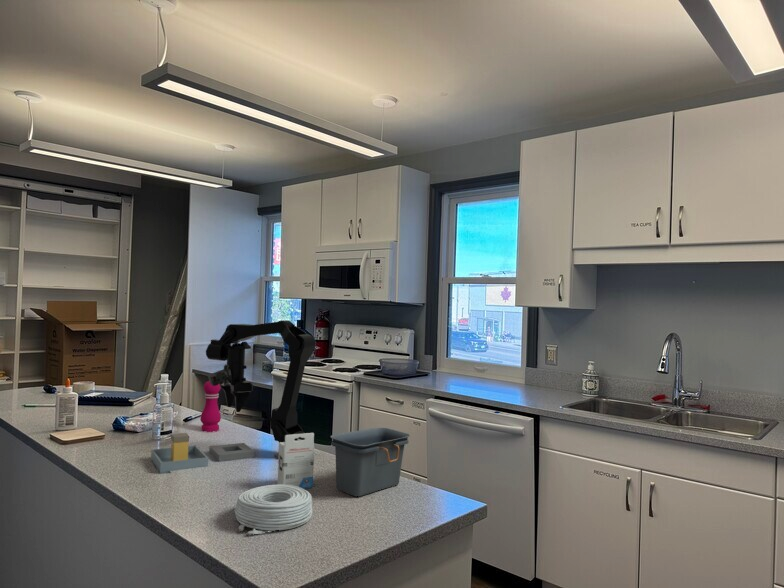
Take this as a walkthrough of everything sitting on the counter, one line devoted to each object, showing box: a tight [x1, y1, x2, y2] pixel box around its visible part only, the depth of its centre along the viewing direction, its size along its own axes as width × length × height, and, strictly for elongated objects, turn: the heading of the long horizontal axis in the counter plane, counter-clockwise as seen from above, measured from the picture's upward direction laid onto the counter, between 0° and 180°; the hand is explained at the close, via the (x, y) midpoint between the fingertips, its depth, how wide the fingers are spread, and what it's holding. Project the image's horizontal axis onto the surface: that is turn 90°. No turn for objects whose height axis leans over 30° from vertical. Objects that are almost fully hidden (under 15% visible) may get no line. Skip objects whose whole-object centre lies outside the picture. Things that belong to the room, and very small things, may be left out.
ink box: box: [277, 432, 315, 489], centre depth 151 cm, size 9×5×15 cm, turn 117°
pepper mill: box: [200, 380, 222, 433], centre depth 208 cm, size 7×7×20 cm
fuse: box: [170, 432, 190, 461], centre depth 166 cm, size 4×4×8 cm
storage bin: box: [329, 427, 411, 497], centre depth 152 cm, size 21×16×14 cm
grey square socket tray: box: [208, 442, 256, 463], centre depth 176 cm, size 11×11×2 cm
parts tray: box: [150, 445, 209, 475], centre depth 166 cm, size 15×13×3 cm
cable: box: [234, 483, 313, 536], centre depth 129 cm, size 18×18×6 cm
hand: (233, 409), depth 185 cm, fingers open, 9 cm apart
